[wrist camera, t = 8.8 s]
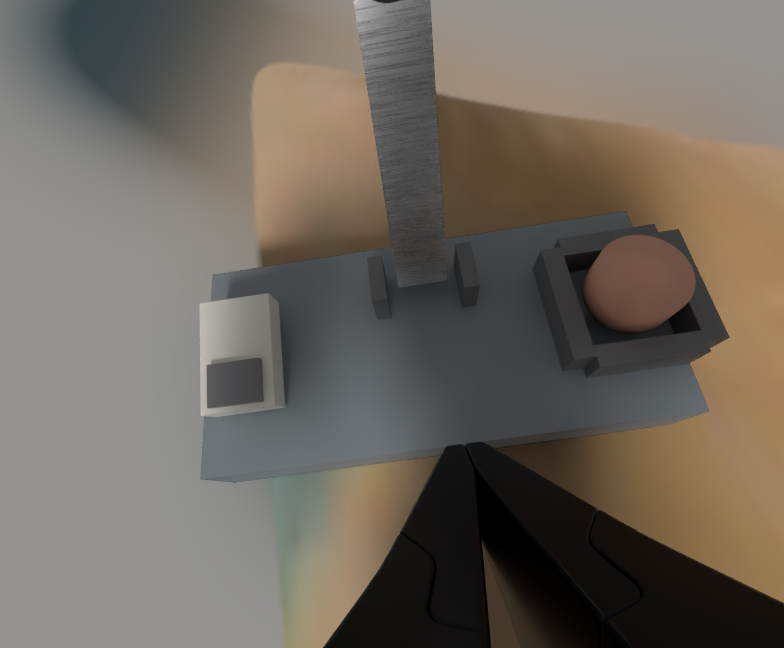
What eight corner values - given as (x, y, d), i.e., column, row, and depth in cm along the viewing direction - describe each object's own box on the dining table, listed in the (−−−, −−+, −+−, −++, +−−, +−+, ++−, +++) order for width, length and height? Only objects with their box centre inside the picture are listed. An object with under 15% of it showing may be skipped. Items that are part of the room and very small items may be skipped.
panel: (684, 422, 18) (765, 397, 14) (234, 482, 19) (173, 476, 14) (615, 245, 22) (661, 180, 17) (240, 302, 22) (192, 253, 18)
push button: (684, 327, 15) (711, 308, 14) (596, 339, 15) (612, 322, 14) (653, 252, 17) (674, 228, 15) (571, 264, 17) (584, 242, 15)
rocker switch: (285, 407, 17) (271, 404, 15) (216, 417, 17) (196, 415, 15) (278, 302, 18) (265, 290, 16) (214, 311, 18) (195, 301, 16)
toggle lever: (454, 290, 17) (435, -137, 9) (395, 298, 17) (324, -117, 9) (445, 256, 19) (422, -123, 11) (391, 265, 19) (330, -106, 11)
